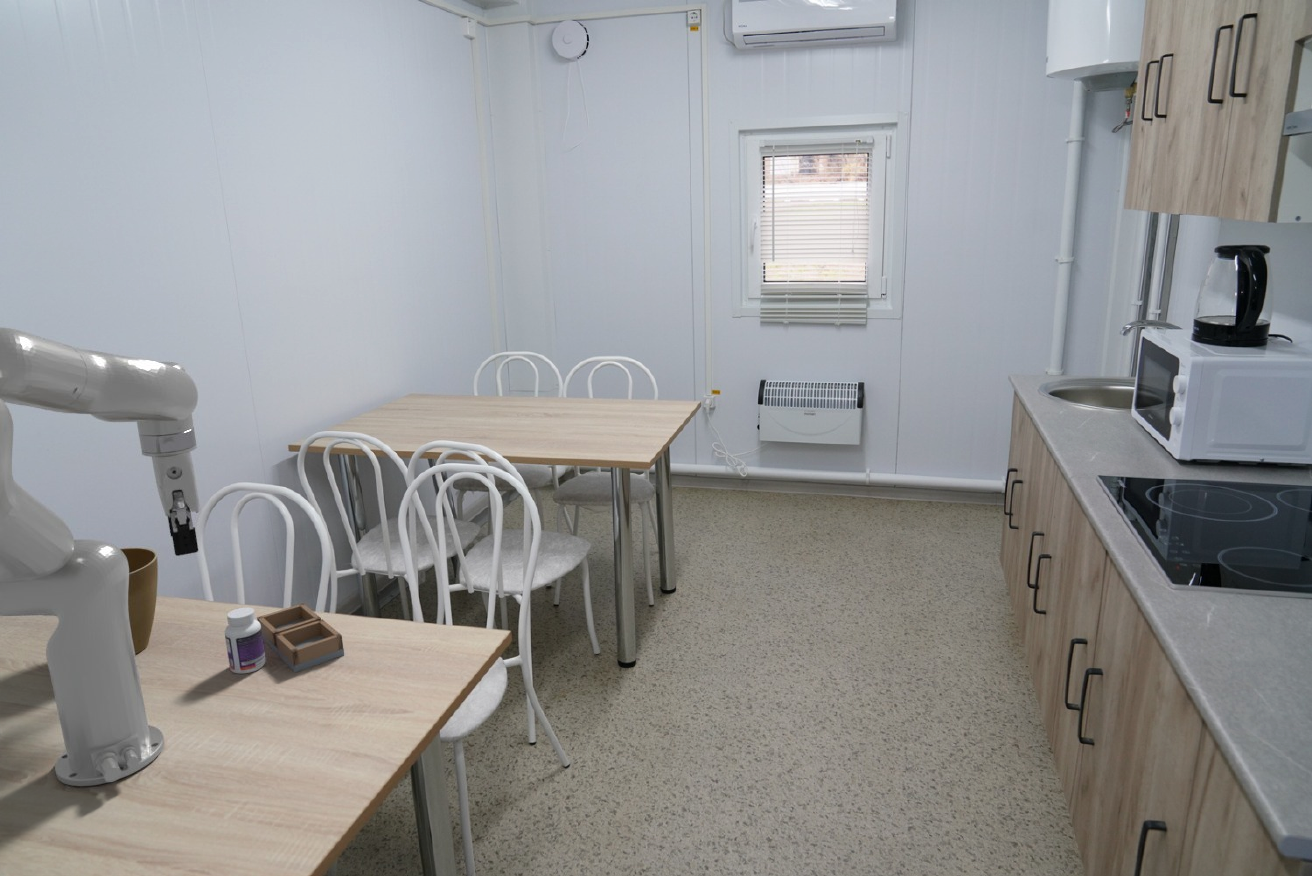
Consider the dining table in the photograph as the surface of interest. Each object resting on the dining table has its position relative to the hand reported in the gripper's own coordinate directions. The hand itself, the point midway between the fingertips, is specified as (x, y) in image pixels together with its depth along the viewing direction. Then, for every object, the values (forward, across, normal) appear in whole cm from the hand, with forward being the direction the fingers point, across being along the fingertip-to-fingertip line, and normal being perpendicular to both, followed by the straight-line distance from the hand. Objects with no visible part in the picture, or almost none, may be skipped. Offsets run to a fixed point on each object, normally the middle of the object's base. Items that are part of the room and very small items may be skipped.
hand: (184, 543), depth 136 cm
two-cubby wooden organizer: (+21, -4, -15) cm, 26 cm away
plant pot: (+21, +12, +11) cm, 27 cm away
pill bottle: (+21, -6, -6) cm, 23 cm away
